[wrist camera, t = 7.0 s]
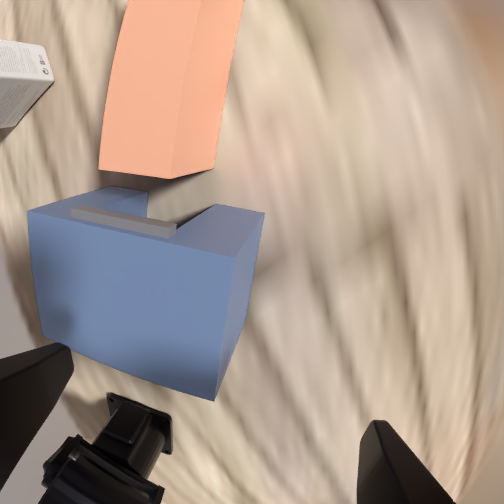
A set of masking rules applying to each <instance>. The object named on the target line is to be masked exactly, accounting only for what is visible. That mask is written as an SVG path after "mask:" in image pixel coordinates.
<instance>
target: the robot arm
mask: <svg viewBox="0 0 504 504" xmlns="http://www.w3.org/2000/svg"><path fill="white" fill-rule="evenodd" d="M73 371H74V364H73V360H72V355H71V350H70V348H69V347H68V346H67V345H64V344H62V343H59V342H57V343H53V344H50V345H47V346H43V347H40V348H37V349H33V350H30V351H26V352H23V353H20V354H16V355H13V356H9V357H6V358H2V359H0V491H1V489H2V488H3V486H4V484H5V483H6V481H7V479H8V478H9V476H10V474H11V473H12V471H13V469H14V468H15V466H16V465H17V463H18V461H19V460H20V458H21V457H22V455H23V454H24V452H25V450H26V449H27V447H28V446H29V444H30V443H31V441H32V440H33V438H34V437H35V435H36V434H37V432H38V431H39V429H40V428H41V426H42V425H43V423H44V422H45V420H46V419H47V417H48V416H49V414H50V413H51V411H52V410H53V408H54V406H55V405H56V403H57V401H58V399H59V397H60V396H61V394H62V392H63V390H64V388H65V386H66V385H67V383H68V381H69V379H70V377H71V376H72V374H73ZM107 400H108V405H109V410H110V415H111V417H110V419H109V420H108V422H107V423H106V425H105V426H104V427H103V429H102V430H101V432H100V433H99V435H98V436H97V438H96V439H95V440H94V442H93V443H92V445H91V444H90V443H88V442H87V441H85V440H84V439H83V437H81V436H80V435H79V434H77V435H76V437H74V438H73V437H68V438H67V439H66V440H65V442H64V443H63V444H62V446H61V447H60V448H59V449H58V450H57V451H56V452H55V453H54V454H53V455H52V456H51V457H50V458H49V459H48V460H47V461H46V462H45V463H44V464H43V469H44V473H45V474H44V476H43V477H44V479H43V481H42V485H43V486H44V487H45V488H46V489H47V490H46V492H45V494H44V495H43V496H42V498H41V500H40V501H39V503H38V504H161V500H162V497H163V494H164V490H165V488H163V487H161V486H160V485H159V486H158V485H156V484H154V483H152V482H150V481H148V480H147V479H148V477H149V475H150V473H151V471H152V469H153V467H154V465H155V463H156V461H157V459H158V457H159V455H160V453H161V452H162V453H165V454H168V455H171V454H172V451H173V441H172V418H171V417H170V416H169V415H167V414H164V413H161V412H158V411H155V410H153V409H150V408H147V407H144V406H142V405H139V404H136V403H134V402H131V401H129V400H126V399H124V398H121V397H119V396H116V395H114V394H109V395H108V396H107ZM73 458H75V459H76V460H75V461H74V460H73ZM357 504H456V503H455V502H453V499H452V498H451V497H450V496H449V495H448V493H447V492H446V491H445V490H444V489H443V487H442V486H441V485H440V484H439V483H438V481H437V480H436V479H435V478H434V477H433V475H432V474H431V473H430V472H429V471H428V469H427V468H426V467H425V466H424V465H423V464H422V462H421V461H420V460H419V459H418V458H417V456H416V455H415V454H414V453H413V452H412V450H411V449H410V448H409V447H408V446H407V444H406V443H405V442H404V441H403V440H402V438H401V437H400V436H399V435H398V434H397V432H396V431H395V430H394V429H393V428H392V426H391V425H390V424H389V423H388V422H387V421H385V420H373V421H371V423H370V424H369V426H368V428H367V429H366V431H365V433H364V435H363V436H362V438H361V441H360V450H359V465H358V478H357Z"/></svg>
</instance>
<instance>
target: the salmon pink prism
mask: <svg viewBox="0 0 504 504" xmlns="http://www.w3.org/2000/svg"><path fill="white" fill-rule="evenodd" d="M243 3H244V0H129V1H128V4H127V8H126V11H125V15H124V18H123V22H122V26H121V30H120V34H119V38H118V42H117V47H116V51H115V56H114V60H113V65H112V70H111V75H110V81H109V86H108V92H107V99H106V105H105V112H104V119H103V127H102V136H101V145H100V156H99V168H98V169H99V170H107V171H116V172H123V173H131V174H138V175H146V176H153V177H160V178H166V179H172V178H176V177H179V176H183V175H188V174H192V173H196V172H200V171H204V170H209V169H213V168H214V163H215V157H216V150H217V143H218V137H219V131H220V125H221V118H222V112H223V106H224V101H225V95H226V89H227V84H228V78H229V73H230V67H231V62H232V57H233V52H234V46H235V41H236V36H237V31H238V27H239V22H240V17H241V12H242V8H243Z"/></svg>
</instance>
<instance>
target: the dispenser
mask: <svg viewBox="0 0 504 504" xmlns="http://www.w3.org/2000/svg"><path fill="white" fill-rule="evenodd" d="M147 203H148V192H146V191H139V190H133V189H127V188H120V187H114V186H111V187H107V188H103V189H99V190H95V191H92V192H88V193H84V194H81V195H77V196H74V197H70V198H67V199H64V200H60V201H57V202H54V203H51V204H47V205H44V206H41V207H38V208H35V209H32V210H29V211H28V231H29V245H30V256H31V265H32V274H33V281H34V288H35V295H36V301H37V307H38V312H39V317H40V322H41V327H42V332H43V336H44V337H46V338H48V339H50V340H52V341H54V342H56V343H57V342H59V343H62V344H64V345H67V346H68V347H69V348H70V349H71V350H73V351H75V352H77V353H80V354H82V355H84V356H86V357H89V358H91V359H93V360H96V361H98V362H100V363H103V364H105V365H108V366H110V367H112V368H115V369H117V370H120V371H123V372H125V373H128V374H130V375H133V376H136V377H138V378H141V379H144V380H147V381H150V382H152V383H155V384H158V385H161V386H164V387H167V388H170V389H173V390H177V391H180V392H183V393H186V394H190V395H193V396H196V397H200V398H203V399H207V400H210V401H215V398H216V395H217V393H218V390H219V388H220V385H221V383H222V380H223V377H224V375H225V372H226V370H227V367H228V364H229V362H230V359H231V357H232V354H233V351H234V349H235V346H236V344H237V341H238V338H239V336H240V333H241V330H242V328H243V325H244V322H245V320H246V314H247V309H248V303H249V298H250V292H251V287H252V281H253V276H254V270H255V264H256V259H257V253H258V248H259V242H260V237H261V231H262V225H263V220H264V214H265V213H261V212H256V211H251V210H246V209H241V208H236V207H231V206H225V205H220V204H215V205H214V206H212V207H211V208H209V209H207V210H206V211H204V212H203V213H201V214H200V215H198V216H196V217H195V218H193V219H192V220H190V221H189V222H187V223H186V224H184V225H182V226H181V227H179V228H178V229H176V226H177V224H175V223H170V222H165V221H160V220H155V219H150V218H146V217H147Z"/></svg>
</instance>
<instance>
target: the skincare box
mask: <svg viewBox="0 0 504 504" xmlns="http://www.w3.org/2000/svg"><path fill="white" fill-rule="evenodd" d="M53 81H54V77H53V73H52V69H51V66H50V63H49V60H48V57H47V54H46V51H45V48H44V47H43V46H40V45H34V44H28V43H22V42H16V41H8V40H1V39H0V128H8V127H14V126H16V124H17V123H18V122H19V120H20V119H21V118H22V117H23V115H24V114H25V113H26V112H27V111H28V109H29V108H30V107H31V106H32V105H33V104H34V102H35V101H36V100H37V99H38V98H39V97H40V96H41V95H42V93H43V92H44V91H45V90H46V89H47V88H48V87H49V86H50V85H51V84H52V83H53Z"/></svg>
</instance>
